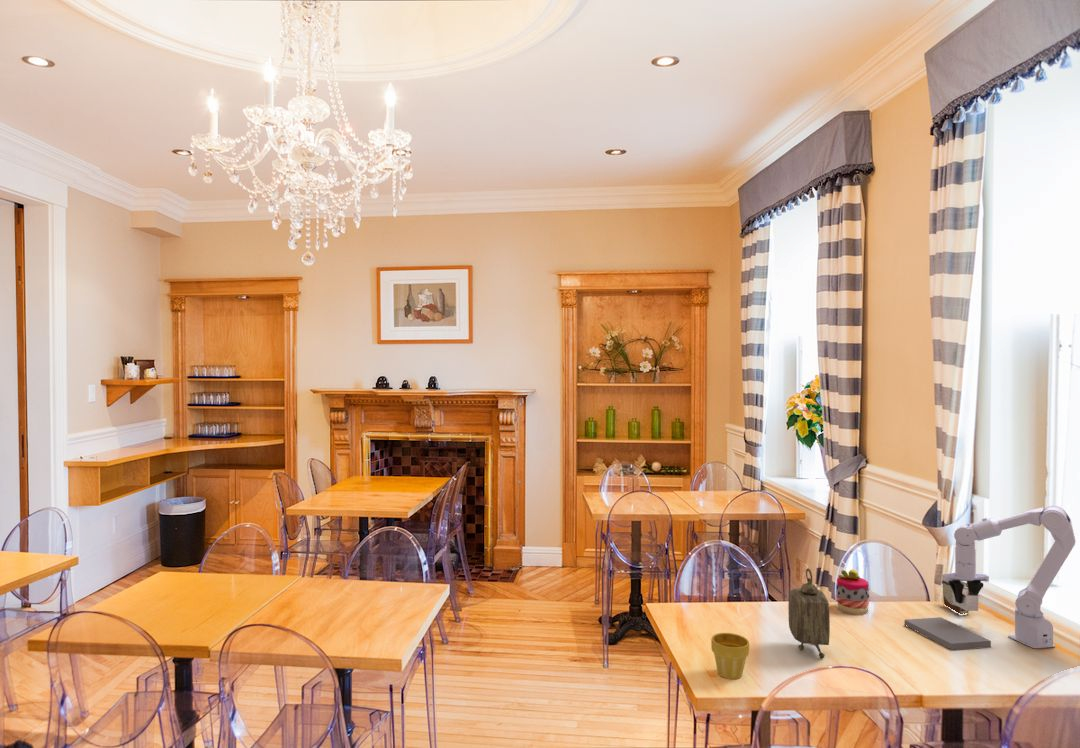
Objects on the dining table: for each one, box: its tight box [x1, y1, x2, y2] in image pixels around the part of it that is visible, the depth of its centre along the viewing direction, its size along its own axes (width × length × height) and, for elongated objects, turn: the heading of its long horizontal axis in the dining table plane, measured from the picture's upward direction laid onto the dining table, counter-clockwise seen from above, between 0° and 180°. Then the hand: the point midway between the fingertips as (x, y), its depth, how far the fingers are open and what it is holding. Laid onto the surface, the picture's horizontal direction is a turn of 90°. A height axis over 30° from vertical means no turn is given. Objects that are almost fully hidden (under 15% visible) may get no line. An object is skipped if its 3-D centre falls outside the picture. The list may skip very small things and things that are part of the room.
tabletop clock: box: [787, 567, 831, 659], centre depth 198 cm, size 14×9×25 cm, turn 170°
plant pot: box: [710, 632, 750, 680], centre depth 182 cm, size 10×10×10 cm
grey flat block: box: [904, 616, 992, 651], centre depth 209 cm, size 20×14×2 cm
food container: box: [941, 579, 969, 614], centre depth 232 cm, size 12×6×10 cm, turn 179°
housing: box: [953, 589, 979, 612], centre depth 217 cm, size 8×4×5 cm, turn 0°
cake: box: [836, 569, 870, 616], centre depth 232 cm, size 10×11×15 cm
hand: (965, 602), depth 216 cm, fingers closed on housing, 4 cm apart
